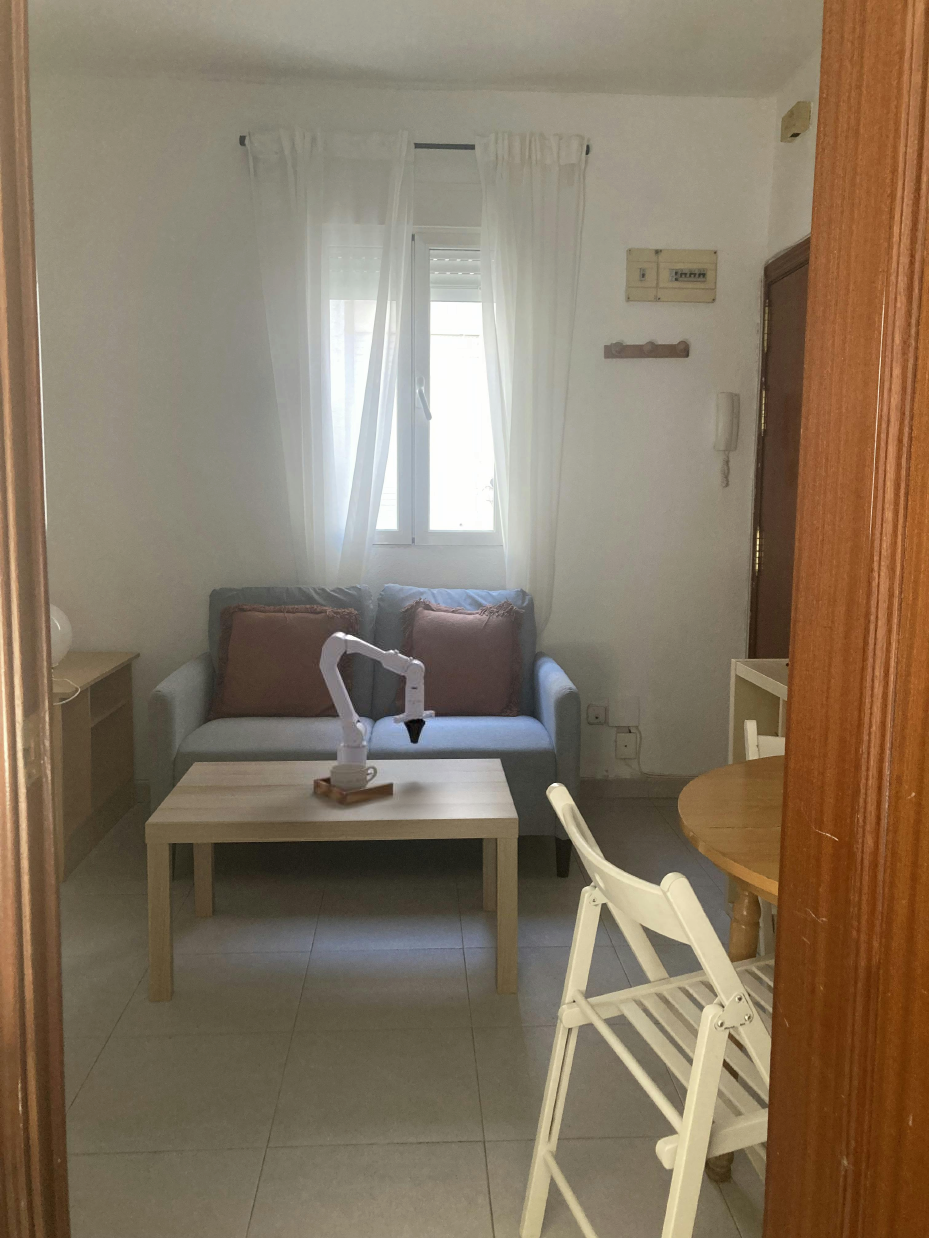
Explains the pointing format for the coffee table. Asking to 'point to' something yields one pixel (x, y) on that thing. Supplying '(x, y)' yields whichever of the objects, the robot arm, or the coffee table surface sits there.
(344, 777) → the teacup
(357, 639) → the robot arm
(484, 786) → the coffee table surface
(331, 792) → the cradle
